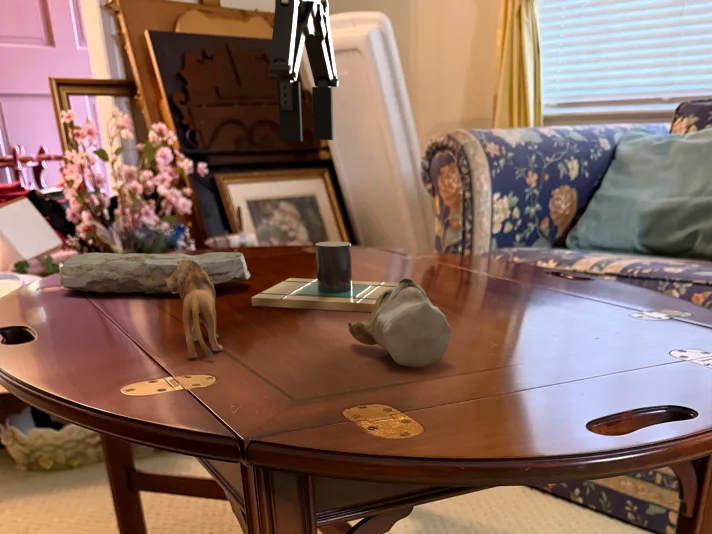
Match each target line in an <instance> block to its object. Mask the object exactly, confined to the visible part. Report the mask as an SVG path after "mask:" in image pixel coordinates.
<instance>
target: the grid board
mask: <svg viewBox="0 0 712 534" xmlns="http://www.w3.org/2000/svg"><path fill="white" fill-rule="evenodd" d="M399 283H400V282H387V281H386V282H385V281H367V280H366V281H365V280H364V281H363V280H361V281H360V280H352V290H351V291H347V292H340V293H328V292H321V291H319V290H318V289H317V278H298V277H297V278H296V277H289V278H287V279H285V280H282V281H281V282H278V283H276V284H275V285H273V286H271V287H269V288H267V289H264V290H263V291H261V292H258V293H257V294H256V295H255V294H254V295H253V296H251V306H252V307H265V308H283V309H284V308H285V309H304V310H321V311H342V312H357V313H358V312H360V313H361V312H362V313H372V310H373V308H374V306H375V303H376V300H377V298H378V297H379V296H380V295H381V294H382V293H383V292H385V291H386V290H389V289H395V288H396V287H397V286H398V285H399Z"/></svg>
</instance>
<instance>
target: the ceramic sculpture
mask: <svg viewBox="0 0 712 534" xmlns="http://www.w3.org/2000/svg"><path fill="white" fill-rule="evenodd" d="M398 283H399V285H398V286H397V287H396V288H395V289H389V290H386V291H385V292H383V293H382V294H381V295H380V296H379V297H378V298H377V300H376V303H375V306H374V308H373V310H372V312H370V316H369V319H368V320H366V321H358V322H348V332H349V333H350V335H351V336H352V337H353V339H355V340H356V341H357V342H359V343H360V344H363V345H368V346H375V345H377V346H379V347H380V348H382V349H383V350H385V351H387V352H388V354H389V355H390V357H391V359H392V360H393V361H394V362H395V363H396V364H398V365H400V366H405V367H410V368H423V367H426V366H429V365H431V364H435V363H436V362H438V361H439V360H440V359H441V358H442V357H443V356H444V354H445V353H446V351H447V349H448V346H449V344H450V339H451V334H452V328H451V326H450V325H449V322H448V320H447V318H446V316H445V314H444V313H443V312H442V311H441V310H440V309H439V307H438V306H434V304H433V303H432V301H431V300H430V299H429V297H427V295H426V292H425V290H424V289H423V288H422V286H420V285H418V284H417V283H415V282H414V280H412V279H410V278H402V279H401V280H400V281H399V282H398Z"/></svg>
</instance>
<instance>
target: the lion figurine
mask: <svg viewBox="0 0 712 534" xmlns="http://www.w3.org/2000/svg"><path fill="white" fill-rule="evenodd" d="M177 264H178V265H177V269H176V270H175V271H174V272H173V274H172V275H171V276H170V277H168V278H167V279H166V280H165V282H166V283H167V285H168V287H169V288H171V289H172V293H173V294H172V295H177V294H179V296H180V299H181V302H182V305H183V308H182V323H183V329H184V334H185V344H186V347H187V353H186V358H187V359H195V358H197V357H198V353H197V352H196V348H195V342H197V341H198V343H199V345H200V347H201V348H202V350H203V351H204V353H205V356H206V357H208V358H210V359H211V358H214V354H213V351H214V352H220V351H221V352H222V351H223V350H224V347H223V345H221V344H219V343H218V340H217V339H219V338H220V335H219V334H217V311H216V298H217V293H216V289H215V284H214V285H213V283H212V282H211V281H210V279H209V277H208V275H207V273H206V272H205V271H204V270H203V267H202V266H200V265H199V264H198V263H196V262H195V261H193V260H190V259H184V260H179V261H178V262H177ZM200 323H203V325H204V326H205V329H206V331H207V336H208V341H209V344H210V346H211V349H212V350H211V349H210V348H209V347H208V346H207V345H206V343H205V341H204V338H203V335H202V331H201V326H200Z"/></svg>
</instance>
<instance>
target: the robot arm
mask: <svg viewBox="0 0 712 534" xmlns="http://www.w3.org/2000/svg"><path fill="white" fill-rule="evenodd" d="M329 9H330V7H329V1H328V0H274V15H273V25H272V35H271V44H270V45H271V46H270V56H269V65H268V69H269V71H268V76H269V80H270V81H271V82H275V81H276V82H277V97H278V99H277V101H278V116H279V117H278V118H279V135H280V142H303V140H304V137H303V116H302V115H303V114H302V93H301V91H302V89H301V81H298V80H297V79H298V75H299V71H300V66H301V61H302V57H303V50H304V47H305V52H306V55H307V59H308V63H309V67H310V72H311V75H312V79H313V83H314V86H311V93H312V96H311V97H312V118H313V119H312V124H313V126H312V127H313V140H314V141H334V139H335V138H334V105H333V104H334V103H333V102H334V101H333V100H334V99H333V97H334V96H333V88H338V87H339V84H340V83H339V82H340V79H339V78H338V74H337V73H338V72H337V67H336V60H335V59H336V58H335V54H334V46H333V38H332V30H331V24H330V10H329Z"/></svg>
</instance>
